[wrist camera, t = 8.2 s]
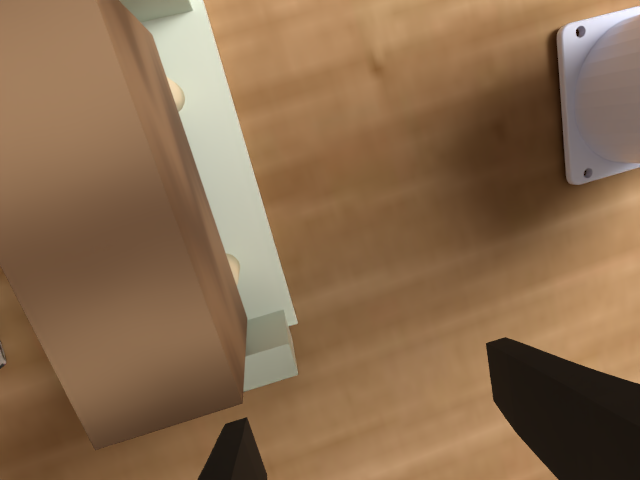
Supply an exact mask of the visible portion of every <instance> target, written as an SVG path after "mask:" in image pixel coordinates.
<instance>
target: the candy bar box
mask: <svg viewBox="0 0 640 480" xmlns="http://www.w3.org/2000/svg"><path fill="white" fill-rule="evenodd" d="M5 364H6V358H5V354H4V351H3V348H2V344H1V342H0V369H1V368H2V367H3V366H4V365H5Z"/></svg>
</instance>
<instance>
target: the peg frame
mask: <svg viewBox="0 0 640 480" xmlns="http://www.w3.org/2000/svg"><path fill="white" fill-rule="evenodd" d="M119 1H120V2H121V3H122V4H123V5H124V6H125V7H126V8H127V9H128V10H129V11H130V12H131V13H132V14H133V15H134V16H135V17H136V18H137V19H138V20H139V21H140V22H141V23H142V24H143V26H144V27H145V28H146V29H147V30H148V31H149V32H150V33H151V34H152V35H153V38H154V41H155V44H156V47H157V50H158V53H159V56H160V59H161V62H162V65H163V68H164V71H165V74H166V77H167V80H168V83H169V86H170V89H171V92H172V95H173V98H174V101H175V104H176V107H177V110H178V113H179V116H180V119H181V122H182V125H183V128H184V130H185V133H186V136H187V139H188V142H189V145H190V148H191V151H192V154H193V157H194V160H195V163H196V166H197V169H198V172H199V175H200V178H201V181H202V184H203V187H204V190H205V193H206V196H207V199H208V202H209V205H210V208H211V211H212V214H213V217H214V220H215V223H216V226H217V229H218V232H219V235H220V238H221V241H222V244H223V247H224V250H225V253H226V256H227V259H228V262H229V265H230V268H231V271H232V274H233V277H234V280H235V283H236V286H237V289H238V292H239V295H240V298H241V300H242V303H243V306H244V309H245V312H246V315H247V336H246V354H245V372H244V390H243V392H245V391H248V390H252V389H255V388H258V387H261V386H264V385H267V384H271V383H274V382H277V381H280V380H283V379H287V378H290V377H293V376H296V375H298V369H297V364H296V358H295V353H294V347H293V341H292V336H291V333H290V329H289V326H291V325H295V324H298V322H297V318H296V314H295V311H294V307H293V304H292V301H291V297H290V294H289V290H288V287H287V284H286V280H285V277H284V273H283V270H282V267H281V263H280V260H279V256H278V253H277V250H276V246H275V243H274V239H273V236H272V233H271V229H270V226H269V222H268V219H267V215H266V212H265V209H264V205H263V202H262V198H261V195H260V192H259V188H258V185H257V181H256V178H255V175H254V171H253V168H252V164H251V161H250V158H249V154H248V151H247V147H246V144H245V141H244V137H243V134H242V130H241V127H240V124H239V120H238V117H237V113H236V110H235V107H234V103H233V100H232V96H231V93H230V90H229V86H228V83H227V79H226V76H225V73H224V69H223V66H222V62H221V59H220V56H219V52H218V49H217V45H216V42H215V39H214V35H213V32H212V28H211V25H210V21H209V18H208V15H207V11H206V8H205V4H204V1H203V0H119Z"/></svg>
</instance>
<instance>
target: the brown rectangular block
mask: <svg viewBox="0 0 640 480" xmlns="http://www.w3.org/2000/svg"><path fill="white" fill-rule="evenodd" d="M0 266H1V268H2V270H3V272H4V274H5V276H6V278H7V280H8V281H9V283H10V285H11V287H12V289H13V291H14V293H15V295H16V297H17V299H18V301H19V303H20V305H21V307H22V309H23V311H24V313H25V315H26V317H27V319H28V320H29V322H30V324H31V326H32V328H33V330H34V332H35V334H36V336H37V338H38V340H39V342H40V344H41V346H42V348H43V350H44V352H45V354H46V356H47V358H48V359H49V361H50V363H51V365H52V367H53V369H54V371H55V373H56V375H57V377H58V379H59V381H60V383H61V385H62V387H63V389H64V391H65V393H66V395H67V397H68V398H69V400H70V402H71V404H72V406H73V408H74V410H75V412H76V414H77V416H78V418H79V420H80V422H81V424H82V426H83V428H84V430H85V432H86V434H87V436H88V437H89V439H90V441H91V443H92V445H93V447H94V449H95V450H98V449H101V448H104V447H107V446H110V445H113V444H117V443H120V442H123V441H126V440H129V439H132V438H135V437H138V436H142V435H145V434H148V433H151V432H154V431H157V430H160V429H164V428H167V427H170V426H173V425H176V424H179V423H182V422H186V421H189V420H192V419H195V418H198V417H201V416H204V415H208V414H211V413H214V412H217V411H220V410H223V409H226V408H230V407H233V406H236V405H239V404H242V403H243V390H244V372H245V354H246V336H247V315H246V312H245V309H244V306H243V303H242V300H241V298H240V295H239V292H238V289H237V286H236V283H235V280H234V277H233V274H232V271H231V268H230V265H229V262H228V259H227V256H226V253H225V250H224V247H223V244H222V241H221V238H220V235H219V232H218V229H217V226H216V223H215V220H214V217H213V214H212V211H211V208H210V205H209V202H208V199H207V196H206V193H205V190H204V187H203V184H202V181H201V178H200V175H199V172H198V169H197V166H196V163H195V160H194V157H193V154H192V151H191V148H190V145H189V142H188V139H187V136H186V133H185V130H184V128H183V125H182V122H181V119H180V116H179V113H178V110H177V107H176V104H175V101H174V98H173V95H172V92H171V89H170V86H169V83H168V80H167V77H166V74H165V71H164V68H163V65H162V62H161V59H160V56H159V53H158V50H157V47H156V44H155V41H154V38H153V35H152V34H151V33H150V32H149V31H148V30H147V29H146V28H145V27H144V26H143V24H142V23H141V22H140V21H139V20H138V19H137V18H136V17H135V16H134V15H133V14H132V13H131V12H130V11H129V10H128V9H127V8H126V7H125V6H124V5H123V4H122V3H121V2H120V1H119V0H0Z"/></svg>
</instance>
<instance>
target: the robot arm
mask: <svg viewBox="0 0 640 480" xmlns="http://www.w3.org/2000/svg"><path fill="white" fill-rule="evenodd" d="M576 29H578V30H579V36H578V37H577V36H576ZM557 50H558V65H559V79H560V94H561V109H562V123H563V138H564V152H565V167H566V178H567V181H568V182H569V183H570V184H573V185H580V184H584V183H587V182H591V181H594V180H598V179H601V178H604V177H608V176H611V175H615V174H618V173H622V172H625V171H629V170H632V169H636V168H639V167H640V6H636V7H632V8H628V9H624V10H620V11H616V12H612V13H608V14H604V15H600V16H596V17H592V18H588V19H584V20H580V21H576V22H572V23H569V24H566V25H564V26H562V27H561V28H560V29H559V31H558V33H557ZM585 170H586V171H587V172H586V175H585V176H584V171H585ZM486 347H487V355H488V363H489V370H490V378H491V385H492V393H493V400H494V402H495V403H496V405H497V406H498V408H499V409H500V411H501V412H502V414H503V415H504V417H505V418H506V419H507V421H508V422H509V423H510V425H511V426H512V428H513V429H514V430H515V432H516V433H517V434H518V435H519V436H520V437H521V439H522V440H523V441H524V442H525V443H526V444H527V445H528V446H529V447H530V449H531V450H532V451H533V452H534V453H535V454H536V455H537V456H538V458H539V459H540V460H541V461H542V462H543V463H544V464H545V465H546V466H547V467H548V469H549V470H550V471H551V472H552V473H553V474H554V475H555V476H556V477H557V478H558V480H640V384H638V383H634V382H631V381H628V380H624V379H621V378H618V377H615V376H612V375H609V374H605V373H602V372H599V371H596V370H594V369H591V368H588V367H585V366H582V365H579V364H576V363H574V362H571V361H568V360H565V359H563V358H560V357H557V356H555V355H552V354H550V353H547V352H544V351H542V350H539V349H536V348H534V347H531V346H528V345H526V344H523V343H520V342H518V341H515V340H512V339H509V338H506V337H505V338H501V339H498V340H495V341H492V342H488V343H486ZM198 480H267V473H266V470H265V468H264V465H263V462H262V459H261V456H260V453H259V450H258V448H257V445H256V442H255V439H254V436H253V433H252V430H251V428H250V425H249V422H248V419H247V417H246V418H243V419H240V420H236V421H233V422H230V423H227V424H225V426H224V427H223V429H222V431H221V433H220V435H219V437H218V439H217V442H216V444H215V446H214V448H213V450H212V452H211V454H210V456H209V458H208V460H207V462H206V464H205V466H204V468H203V470H202V472H201V474H200V476H199V478H198Z"/></svg>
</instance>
